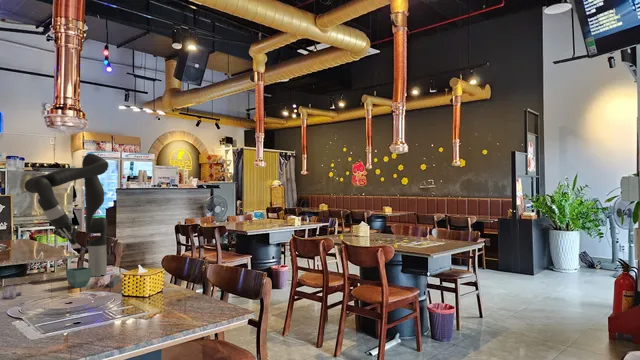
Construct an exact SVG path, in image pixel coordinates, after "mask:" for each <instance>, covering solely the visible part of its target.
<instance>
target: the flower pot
mask: <svg viewBox="0 0 640 360" xmlns="http://www.w3.org/2000/svg"><path fill="white" fill-rule="evenodd" d="M91 271H92V268H88V267H86V266H81V267H75V268H73V267H72V268H65V275H66V280H67V283H68V284H69V286H70V287H72V288H75V289H79V288H84V287H87V285H88V284H89V282H90V280H91V278H92V277H91Z"/></svg>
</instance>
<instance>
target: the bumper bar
mask: <svg viewBox="0 0 640 360" xmlns="http://www.w3.org/2000/svg"><path fill="white" fill-rule="evenodd" d="M120 278H121V275H120V274H115V276H114V277H112V278H111V279H110V280H109V282H108V284H109V285H108V286H109V287H108V288H115V286H116V285H118V284H119V283H120V282H121V280H120Z"/></svg>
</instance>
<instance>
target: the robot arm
mask: <svg viewBox="0 0 640 360" xmlns="http://www.w3.org/2000/svg"><path fill="white" fill-rule="evenodd" d="M81 163H82V165H81V167H66V168H60V169H57V170H55V171H54V170H53V171H51V172H49V173H46V174H42V175H38V176H33V177H30V178H28V179H27V180H26V181H25V183H24V189H25V190H26V191H27V192H28V193H32V194H37V195H38V197H39V198H38V199H37V203H38V205H39V206H40V208H41V210H42V211H43V212H44V215H45V216H46V218H47V220H48V221H49V223H50V224H51V225H52V227H54V230H53V232H52V234H54V235H56V236H57V237H59V238H61V239H63V240H65V239H66V240H68V243H69V244H70V245H72V246H74V245H76V244H77V243H78V240H77V238H76V237H75V236H77V234H78V232H79V231H78V230H79V225H78V224H76V225H74V224H73V223H72V222H71V221H70V216H68V214H67V213H66V212H67V211H65V209H64V207H63V206H62V205H61V204H60V203H59V200H58V199H57V198H56V196H55V193H54V190H53V188H56V187H59V186H62V185H64V184H65V185H66V184H67V183H70V182H73V181H77V180H83V179H84V200H85V201H84V202H85V223H84V224H85V232H86V233H87V234H90V235H94V234H95V235H96V234H100V235H99V236H98V237H95V238H94V239H91V240H89V241H88V243H87V244H88V246H87V247H88V249H87V250H88V251H87V252H88V253H87V254H88V256H87V257H88V259H87V260H88V263H87V265H88V266H87V268H92V271H91V277H90V278H96V277H95V276H97V277H102V276H101V275H104V276H106V275H107V266H108V265H107V259H108V258H107V256H108V255H107V229H108V221H107V217H103V216H101V217H94V215H95V213H96V212H97V211H98V210H99V209H100V208H101V206H103V203H104V202H105V190H104V187H103V185H102V183H101V181H100V179H99V176H101V175H103V174H105V173H106V172H107V171H108V169H109V162H108V161H107V160H106V159H105V158H103V157H101V156H99V155H97V154H95V153H87V154H86V155H85V156H84V157H83V158H82V162H81ZM105 274H106V275H105Z"/></svg>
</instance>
